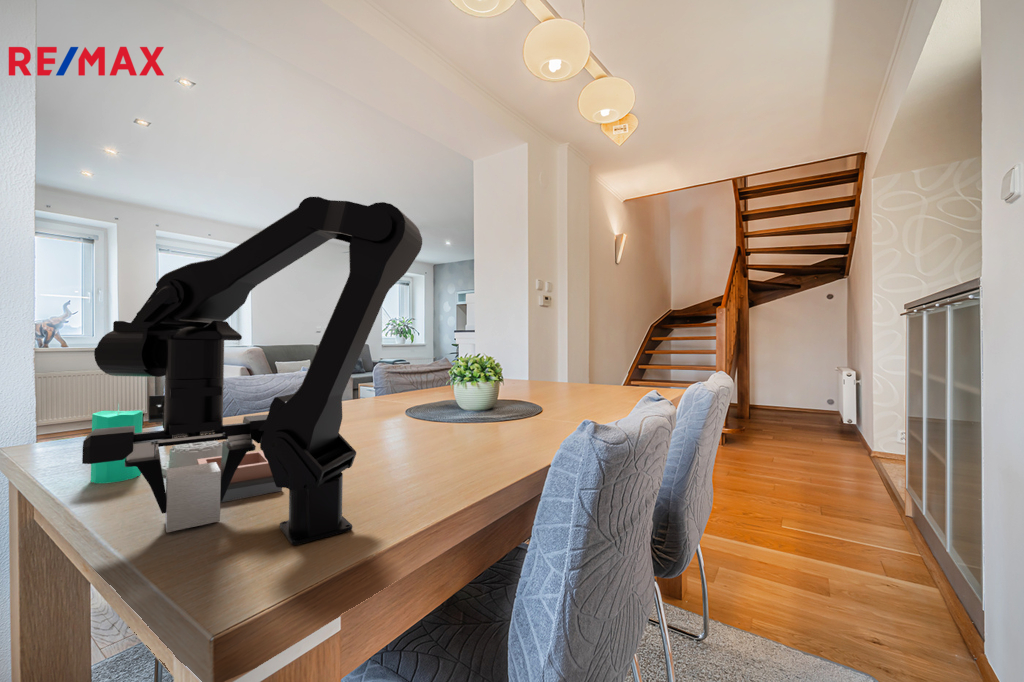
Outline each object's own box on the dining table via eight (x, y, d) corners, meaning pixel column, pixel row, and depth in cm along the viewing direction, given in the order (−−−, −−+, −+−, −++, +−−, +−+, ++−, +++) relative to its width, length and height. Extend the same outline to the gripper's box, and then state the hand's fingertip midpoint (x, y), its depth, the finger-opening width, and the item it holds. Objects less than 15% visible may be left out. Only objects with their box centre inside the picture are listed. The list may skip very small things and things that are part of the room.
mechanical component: (143, 478, 69) (203, 479, 69) (143, 450, 69) (203, 451, 69) (191, 461, 79) (243, 462, 79) (191, 437, 79) (244, 438, 79)
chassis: (281, 490, 63) (282, 463, 63) (198, 506, 57) (199, 476, 57) (265, 471, 72) (265, 448, 72) (191, 483, 66) (192, 457, 66)
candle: (79, 481, 66) (81, 404, 66) (121, 470, 72) (123, 399, 72) (111, 484, 65) (113, 405, 65) (151, 473, 71) (152, 401, 71)
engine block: (219, 521, 51) (220, 471, 51) (166, 532, 48) (167, 479, 48) (215, 508, 55) (216, 462, 55) (165, 518, 52) (166, 468, 52)
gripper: (268, 371, 64) (266, 476, 64) (94, 376, 52) (91, 505, 52) (286, 376, 55) (284, 496, 55) (83, 383, 43) (79, 537, 43)
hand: (192, 506), depth 51 cm, fingers closed on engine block, 5 cm apart
